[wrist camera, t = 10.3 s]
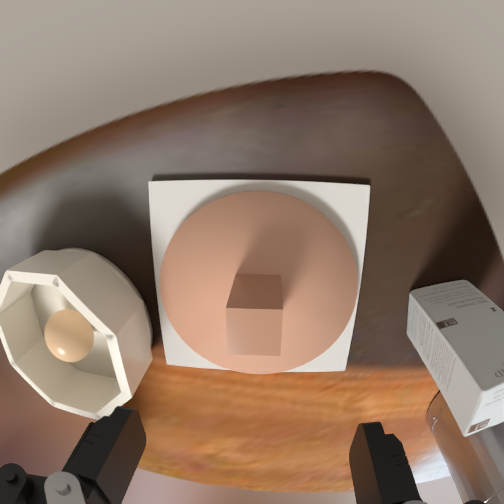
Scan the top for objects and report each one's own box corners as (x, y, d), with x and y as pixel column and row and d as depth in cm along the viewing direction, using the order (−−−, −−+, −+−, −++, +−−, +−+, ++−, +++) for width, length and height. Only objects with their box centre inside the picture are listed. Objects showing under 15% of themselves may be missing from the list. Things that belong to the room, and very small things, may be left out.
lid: (363, 194, 20) (396, 208, 14) (341, 367, 24) (355, 416, 18) (156, 191, 20) (118, 203, 15) (173, 362, 24) (152, 408, 19)
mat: (367, 184, 20) (370, 185, 19) (343, 367, 24) (344, 370, 24) (151, 181, 21) (148, 181, 20) (168, 360, 25) (166, 364, 25)
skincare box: (466, 276, 21) (557, 350, 10) (460, 322, 23) (534, 405, 11) (404, 290, 22) (486, 387, 10) (402, 337, 23) (464, 441, 12)
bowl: (142, 249, 22) (105, 278, 16) (162, 384, 26) (142, 430, 20) (23, 246, 23) (-21, 267, 17) (53, 363, 27) (25, 395, 21)
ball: (97, 302, 23) (69, 328, 18) (107, 347, 24) (84, 377, 20) (57, 297, 23) (28, 320, 19) (68, 340, 24) (44, 366, 20)
